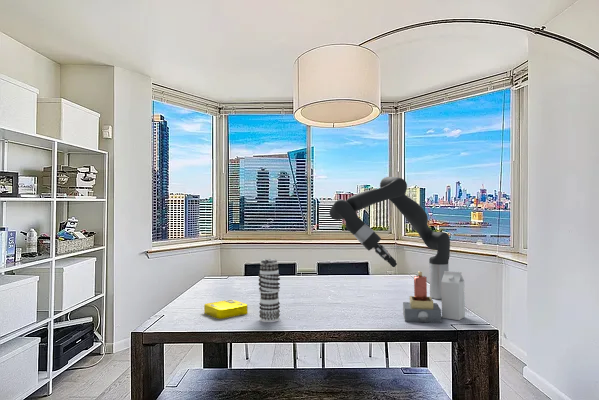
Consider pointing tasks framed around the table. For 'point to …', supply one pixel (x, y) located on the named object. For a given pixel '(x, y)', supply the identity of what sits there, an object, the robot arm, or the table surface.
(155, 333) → the table surface
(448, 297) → the milk carton
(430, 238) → the robot arm
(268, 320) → the decorative candle
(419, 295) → the red bottle
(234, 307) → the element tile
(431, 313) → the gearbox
